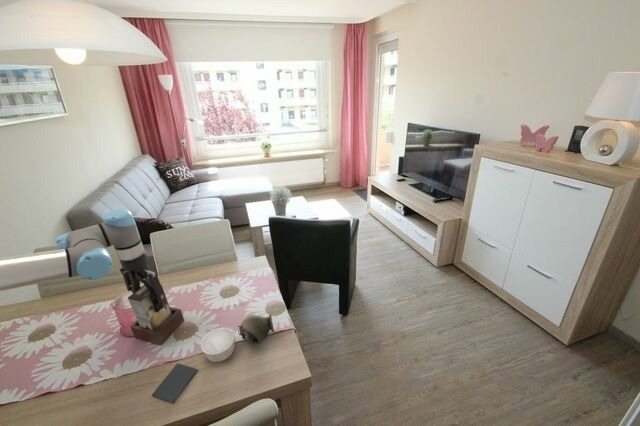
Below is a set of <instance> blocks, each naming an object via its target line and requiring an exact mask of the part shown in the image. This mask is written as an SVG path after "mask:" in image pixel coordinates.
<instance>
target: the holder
mask: <svg viewBox="0 0 640 426" xmlns="http://www.w3.org/2000/svg"><path fill="white" fill-rule="evenodd" d="M169 307H170V310H171V313H172V316H171V317H170V318H169V319H168V320H167V321H166V322H165V323H164V324H163V325H162V326H161V327H160V328H159V329H158V330H157V331H154V330H151V329H147V328H143V327H140V325H139V323H138V320H137V319H136V321H134V322H133V323H132V324H131V325H129V326H130V330H131V332H132V334H133V337H134V339H136V340H139V341H144V342H146V343H151V344H154V345H157V346H163V345H164V343H165V342H166V341H168V339H169V338H170V337H171V336H172V335H173V334H174V333H175V331H176V330H177V329H178V328H179V327H180V326H181V325H182V324H183V323H184V322H185V318H184V316H183V313H182V312H183V311H182V309H181V308H177V307H172V306H169Z"/></svg>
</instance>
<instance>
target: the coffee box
mask: <svg viewBox="0 0 640 426" xmlns="http://www.w3.org/2000/svg"><path fill="white" fill-rule="evenodd" d="M162 285H163V284H161V286H162ZM140 287H141V288H140V289H138V290H137V291H136V292H134V293H131V294H130V295H129V296H127V300H128V302H129V304H130V307H131V309H132V311H133V313H134V316H135V319H136V321H137V320H138V323H139V325H140V327H143V328H147V329H151V330H154V331H157V330H158V329H159V328H160V327H161V326H162V325H163V324H164V323H165V322H166V321H167V320H168V319H169V318H170V317H171V316H172V313H171V310H170V307H171V306H170V304H169V301H168V298H167V296H166V293H165V290H164V287H163V286H162V289H163V291H164V294H162V295H161V296H160V297H161V300H162V305H163V308H162V309H161V310H160V311H159V312H158V313H157V312H156V311H155V308H154V305H153V303H152V300H151V298H152V296H151V294H150V293H149V291H148V290H147V288H146V287H145V285H144V284H143V285H142V286H140Z"/></svg>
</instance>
